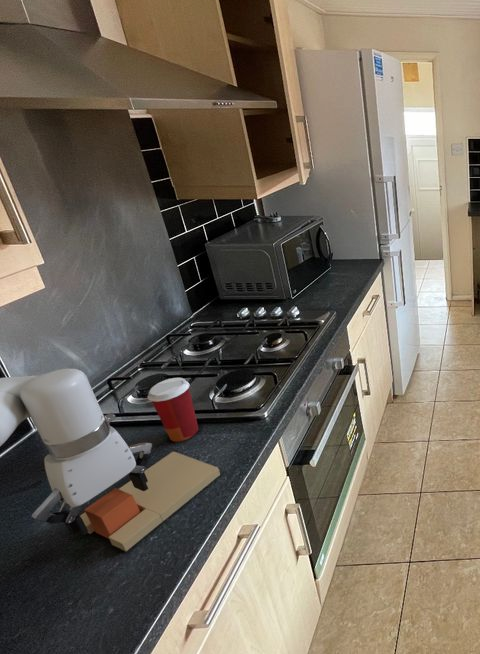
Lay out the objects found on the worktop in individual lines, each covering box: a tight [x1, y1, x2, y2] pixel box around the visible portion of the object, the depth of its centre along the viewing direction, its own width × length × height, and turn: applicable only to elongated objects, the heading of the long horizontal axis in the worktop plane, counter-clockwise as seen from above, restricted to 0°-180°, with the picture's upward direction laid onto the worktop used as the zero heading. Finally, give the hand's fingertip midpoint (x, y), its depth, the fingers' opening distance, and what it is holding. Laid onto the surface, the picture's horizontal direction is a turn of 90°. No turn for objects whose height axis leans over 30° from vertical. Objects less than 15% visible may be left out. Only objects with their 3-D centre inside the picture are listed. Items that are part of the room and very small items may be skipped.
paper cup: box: [147, 377, 199, 443], centre depth 99 cm, size 8×8×14 cm
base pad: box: [79, 451, 221, 552], centre depth 84 cm, size 18×14×2 cm
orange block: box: [83, 487, 141, 540], centre depth 78 cm, size 5×5×6 cm
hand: (112, 508), depth 78 cm, fingers open, 9 cm apart
